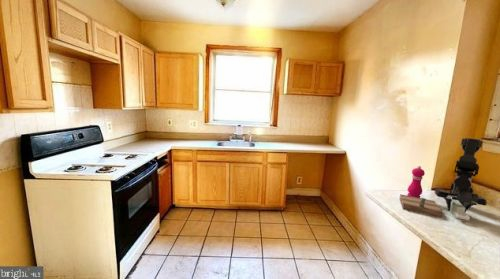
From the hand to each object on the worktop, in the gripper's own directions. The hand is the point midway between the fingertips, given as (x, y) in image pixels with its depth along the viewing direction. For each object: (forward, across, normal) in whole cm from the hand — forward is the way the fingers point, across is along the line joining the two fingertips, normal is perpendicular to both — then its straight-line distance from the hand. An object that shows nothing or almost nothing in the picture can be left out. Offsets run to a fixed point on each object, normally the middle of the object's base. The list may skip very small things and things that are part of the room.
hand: (455, 211), depth 113 cm
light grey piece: (+1, 0, -2) cm, 3 cm away
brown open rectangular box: (+1, -16, -2) cm, 16 cm away
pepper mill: (+1, -16, +13) cm, 21 cm away
